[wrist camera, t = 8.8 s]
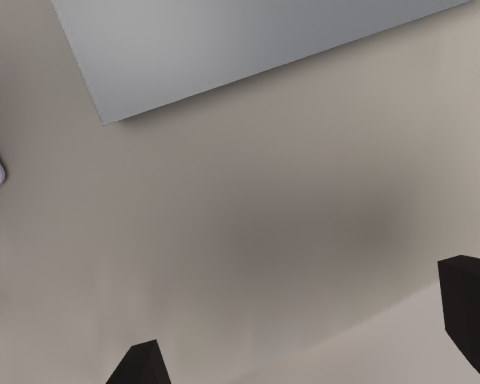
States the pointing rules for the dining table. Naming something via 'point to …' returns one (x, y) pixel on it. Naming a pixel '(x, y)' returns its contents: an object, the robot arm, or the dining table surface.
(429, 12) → the hole board
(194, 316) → the dining table surface
